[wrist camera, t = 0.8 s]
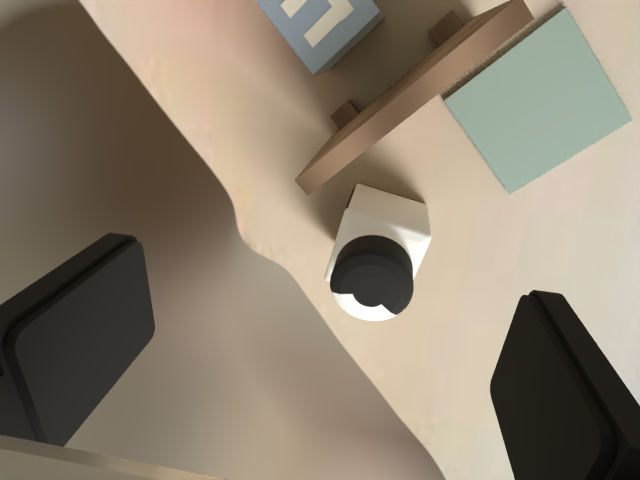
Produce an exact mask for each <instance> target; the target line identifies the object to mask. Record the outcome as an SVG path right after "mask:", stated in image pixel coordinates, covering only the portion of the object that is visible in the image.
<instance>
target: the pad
mask: <svg viewBox="0 0 640 480" xmlns="http://www.w3.org/2000/svg"><path fill="white" fill-rule="evenodd" d="M443 101H444V102H445V104H446V105H447V107H448V108H449V110H450V111H451V112H452V114H453V115H454V117H455V118H456V119H457V121H458V122H459V124H460V125H461V127H462V128H463V129H464V131H465V132H466V134H467V135H468V136H469V138H470V139H471V141H472V142H473V144H474V145H475V146H476V148H477V149H478V151H479V152H480V153H481V155H482V156H483V158H484V159H485V161H486V162H487V163H488V165H489V166H490V168H491V169H492V171H493V172H494V173H495V175H496V176H497V178H498V179H499V180H500V182H501V183H502V185H503V186H504V188H505V189H506V190H507V192H508V193H509V195H510V194H512V193H513V192H515V191H516V190H518V189H520V188H521V187H523V186H525V185H526V184H528V183H530V182H531V181H533V180H535V179H536V178H538V177H540V176H541V175H543V174H544V173H546V172H548V171H549V170H551V169H553V168H554V167H556V166H558V165H559V164H561V163H563V162H564V161H566V160H568V159H569V158H571V157H572V156H574V155H576V154H577V153H579V152H581V151H582V150H584V149H586V148H587V147H589V146H591V145H592V144H594V143H596V142H597V141H599V140H600V139H602V138H604V137H605V136H607V135H609V134H610V133H612V132H614V131H615V130H617V129H619V128H620V127H622V126H624V125H625V124H627V123H628V122H630V121H632V118H631V116H630V115H629V113H628V111H627V109H626V108H625V106H624V104H623V103H622V101H621V99H620V97H619V96H618V94H617V92H616V91H615V89H614V87H613V86H612V84H611V82H610V80H609V79H608V77H607V75H606V74H605V72H604V70H603V68H602V67H601V65H600V63H599V62H598V60H597V58H596V57H595V55H594V53H593V51H592V50H591V48H590V46H589V45H588V43H587V41H586V39H585V38H584V36H583V34H582V33H581V31H580V29H579V28H578V26H577V24H576V22H575V21H574V19H573V17H572V16H571V14H570V12H569V10H568V9H567V7H565V8H563V9H561V10H560V11H559V12H557V13H556V14H555V15H554V16H552V17H551V18H550V19H548V20H547V21H546V22H544V23H543V24H542V25H541V26H539V27H538V28H537V29H535V30H534V31H533V32H531V33H530V34H529V35H528V36H526V37H525V38H524V39H522V40H521V41H520V42H518V43H517V44H516V45H515V46H513V47H512V48H511V49H509V50H508V51H507V52H505V53H504V54H503V55H502V56H500V57H499V58H498V59H496V60H495V61H494V62H492V63H491V64H490V65H489V66H487V67H486V68H485V69H483V70H482V71H481V72H479V73H478V74H477V75H476V76H474V77H473V78H472V79H470V80H469V81H468V82H466V83H465V84H464V85H463V86H461V87H460V88H459V89H457V90H456V91H455V92H453V93H452V94H451V95H449V96H448V97H447V98H446V99H444V100H443Z"/></svg>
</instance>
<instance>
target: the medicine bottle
mask: <svg viewBox="0 0 640 480" xmlns="http://www.w3.org/2000/svg"><path fill="white" fill-rule="evenodd" d="M431 238H432V234H431V227H430V219H429V212H428V206H427V205H426V204H423V203H420V202H417V201H414V200H410V199H407V198H404V197H401V196H397V195H394V194H391V193H388V192H385V191H381V190H378V189H375V188H372V187H369V186H365V185H362V184H358V183H357V184H355V185H354V188H353V190H352V193H351V196H350V198H349V201H348V203H347V206H346V209H345V211H344V215H343V218H342V221H341V224H340V227H339V231H338V234H337V237H336V240H335V244H334V247H333V250H332V253H331V257H330V260H329V263H328V266H327V270H326V273H325V280H326V281H328V282H330V288H331V292H332V295H333V297H334V299H335V301H336V302H337V304H338V305H339V306H340V307H341V308H342V309H343V310H344V311H346V312H347V313H349V314H350V315H352V316H354V317H357V318H360V319H364V320H370V321H379V320H385V319H389V318H392V317H394V316H396V315H398V314H399V313H400V312H402V311H403V310H404V309H405V308H406V307H407V305H408V304H409V302H410V300H411V298H412V295H413V279H414V277H415V275H416V272H417V270H418V268H419V265H420V263H421V261H422V259H423V256H424V254H425V252H426V250H427V247H428V245H429V243H430V240H431Z"/></svg>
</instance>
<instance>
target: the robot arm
mask: <svg viewBox="0 0 640 480" xmlns="http://www.w3.org/2000/svg"><path fill="white" fill-rule="evenodd" d="M154 330H155V323H154V316H153V310H152V303H151V297H150V290H149V284H148V277H147V272H146V265H145V257H144V252H143V246H142V244H141V243H140V242H137V239H136V238H135V237H134V236H132V235H123V234H117V233H109V234H106V235H105V236H103V237H102V238H100V239H99V240H97V241H96V242H94V243H93V244H92V245H90V246H88V247H87V248H85V249H84V250H82V251H81V252H79V253H78V254H76V255H75V256H73V257H72V258H70V259H69V260H67V261H66V262H64V263H63V264H61V265H60V266H58V267H57V268H55V269H54V270H52V271H51V272H49V273H48V274H46V275H45V276H43V277H42V278H40V279H39V280H37V281H36V282H34V283H33V284H31V285H30V286H28V287H27V288H25V289H24V290H22V291H21V292H19V293H18V294H16V295H15V296H13V297H12V298H10V299H9V300H7V301H6V302H4V303H3V304H1V305H0V480H226V479H221V478H216V477H211V476H206V475H201V474H196V473H192V472H186V471H182V470H177V469H172V468H167V467H162V466H157V465H152V464H147V463H142V462H137V461H132V460H126V459H121V458H116V457H112V456H106V455H101V454H96V453H91V452H86V451H81V450H76V449H71V448H66V447H64V445H65V444H66V443H67V442H68V441H69V440H70V438H71V437H72V436H73V435H74V433H75V432H76V431H77V430H78V429H79V427H80V426H81V425H82V424H83V422H84V421H85V420H86V419H87V417H88V416H89V415H90V414H91V412H92V411H93V410H94V409H95V408H96V406H97V405H98V404H99V403H100V401H101V400H102V399H103V398H104V396H105V395H106V394H107V393H108V392H109V390H110V389H111V388H112V387H113V386H114V384H115V383H116V382H117V380H118V379H119V378H120V377H121V376H122V374H123V373H124V372H125V371H126V370H127V368H128V367H129V366H130V365H131V363H132V362H133V361H134V360H135V358H136V357H137V356H138V355H139V353H140V352H141V351H142V350H143V349H144V347H145V346H146V345H147V344H148V342H149V341H150V340H151V339H152V337H153V334H154ZM490 393H491V398H492V402H493V405H494V408H495V412H496V415H497V419H498V422H499V426H500V429H501V433H502V436H503V440H504V443H505V447H506V450H507V454H508V457H509V460H510V464H511V467H512V471H513V474H514V478H515V480H640V406H639V404H638V403H637V401H636V400H635V398H634V397H633V396H632V394H631V393H630V391H629V390H628V388H627V387H626V385H625V384H624V383H623V381H622V380H621V378H620V377H619V375H618V374H617V373H616V371H615V370H614V368H613V367H612V365H611V364H610V362H609V361H608V360H607V358H606V357H605V355H604V354H603V352H602V351H601V349H600V348H599V347H598V345H597V344H596V342H595V341H594V339H593V338H592V337H591V335H590V334H589V332H588V331H587V329H586V328H585V326H584V325H583V324H582V322H581V321H580V319H579V318H578V316H577V315H576V313H575V312H574V311H573V309H572V308H571V306H570V305H569V303H568V302H567V300H566V299H565V298H564V296H563V295H562V294H559V293H552V292H545V291H537V290H533V291H531V292H530V293H529V295H523V296H522V297H521V298H520V300H519V303H518V305H517V308H516V311H515V314H514V317H513V320H512V322H511V325H510V328H509V331H508V334H507V337H506V339H505V342H504V345H503V348H502V351H501V354H500V357H499V359H498V362H497V365H496V368H495V371H494V374H493V376H492V379H491V384H490Z"/></svg>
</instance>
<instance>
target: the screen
mask: <svg viewBox="0 0 640 480" xmlns="http://www.w3.org/2000/svg"><path fill="white" fill-rule="evenodd" d="M533 19H534V17H533V16H532V14H531V12H530V11H529V9H528V7H527V6H526V4H525V3H524V1H523V0H510V1H508V2H505V3H503V4H501V5H499V6H497V7H495V8H493V9H490V10H488V11H486V12H484V13H482V14H480V15H478V16H475V17H473V18H472V19H471V20H470V21H469V22H467V23H466V24H465V25H464V26H462V24H461V22H460V21H459V19H458V18H457V16H456V15H455V13H454V12H453V11H451V12H450V13H449V14H448V15H447V16H446V17H444V18H443V19H442V20H441V21H440V22H439V23H438V24H436V25H435V26H434V27H433V28H432V29H431V30H429V32H430V34H431V35H432V37H433V38H434V40H435V41H436V43H437V44H438V46H439V47H438V48H436V49H435V50H434V51H433V52H432V53H430V54H429V55H428V56H427V57H426V58H424V59H423V60H422V61H421V62H420V63H418V64H417V65H416V66H415V67H414V68H413V69H411V70H410V71H409V72H408V73H407V74H405V75H404V76H403V77H402V78H401V79H399V80H398V81H397V82H396V83H395V84H393V85H392V86H391V87H390V88H389V89H387V90H386V91H385V92H384V93H383V94H381V95H380V96H379V97H378V98H377V99H376V100H374V101H373V102H372V103H371V104H370V105H368V106H367V107H366V108H365V109H364V110H362V111H361V112H360V113H359V112H358V111H357V109H356V108H355V107H354V105H353V104H352V103H351V101H350V100H349V101H348V102H346V103H345V104H344V105H343V106H342V107H341V108H340V109H338V110H337V111H336V112H335V113H334V114H333V115H331V116H330V118H331V119H332V120H333V121H334V123H335V124H336V125H337V126H338V128H339V129H340V130H339V131H337V132H336V133H335V134H334V135H333V136H332V137H331V138H330V139H329V141H328V142H327V143H326V144H325V145H324V146H323V148H322V149H321V150H320V151H319V152H318V153H317V155H316V156H315V157H314V158H313V159H312V160H311V162H310V163H309V164H308V165H307V166H306V168H305V169H304V170H303V171H302V172H301V173H300V175H299V176H298V177H297V178H296V179H295V181H296V182H297V184H298V185H299V186H300V187H301V188H302V190H303V191H304V192H305V193H306V194H307V195H309V194H311V193H312V192H313V191H314V190H316V189H317V188H318V187H320V186H321V185H322V184H323V183H325V182H326V181H327V180H329V179H330V178H331V177H332V176H334V175H335V174H336V173H338V172H339V171H340V170H341V169H343V168H344V167H345V166H346V165H348V164H349V163H350V162H352V161H353V160H354V159H355V158H357V157H358V156H359V155H361V154H362V153H363V152H364V151H366V150H367V149H368V148H370V147H371V146H372V145H373V144H375V143H376V142H377V141H378V140H380V139H381V138H382V137H384V136H385V135H386V134H387V133H389V132H390V131H391V130H393V129H394V128H395V127H396V126H398V125H399V124H400V123H402V122H403V121H404V120H405V119H407V118H408V117H409V116H410V115H412V114H413V113H414V112H416V111H417V110H418V109H419V108H421V107H422V106H423V105H425V104H426V103H427V102H428V101H430V100H431V99H432V98H433V97H435V96H436V95H437V94H439V93H440V92H441V91H442V90H444V89H445V88H446V87H448V86H449V85H450V84H451V83H453V82H454V81H455V80H457V79H458V78H459V77H460V76H462V75H463V74H464V73H465V72H467V71H468V70H469V69H471V68H472V67H473V66H474V65H476V64H477V63H478V62H480V61H481V60H482V59H483V58H485V57H486V56H487V55H489V54H490V53H491V52H492V51H494V50H495V49H496V48H497V47H499V46H500V45H501V44H503V43H504V42H505V41H506V40H508V39H509V38H510V37H512V36H513V35H514V34H515V33H517V32H518V31H519V30H521V29H522V28H523V27H524V26H526V25H527V24H528V23H529V22H531V21H532V20H533Z"/></svg>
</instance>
